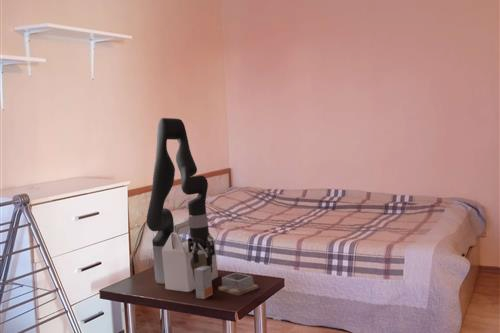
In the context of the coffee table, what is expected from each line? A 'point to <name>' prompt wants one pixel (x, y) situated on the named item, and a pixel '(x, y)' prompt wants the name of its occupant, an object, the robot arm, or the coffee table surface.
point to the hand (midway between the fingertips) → (202, 264)
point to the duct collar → (237, 281)
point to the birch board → (238, 291)
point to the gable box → (183, 261)
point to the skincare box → (203, 282)
